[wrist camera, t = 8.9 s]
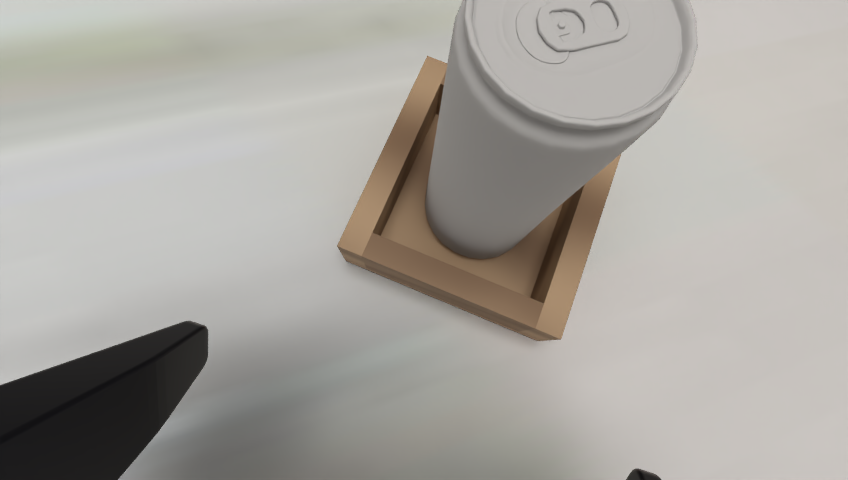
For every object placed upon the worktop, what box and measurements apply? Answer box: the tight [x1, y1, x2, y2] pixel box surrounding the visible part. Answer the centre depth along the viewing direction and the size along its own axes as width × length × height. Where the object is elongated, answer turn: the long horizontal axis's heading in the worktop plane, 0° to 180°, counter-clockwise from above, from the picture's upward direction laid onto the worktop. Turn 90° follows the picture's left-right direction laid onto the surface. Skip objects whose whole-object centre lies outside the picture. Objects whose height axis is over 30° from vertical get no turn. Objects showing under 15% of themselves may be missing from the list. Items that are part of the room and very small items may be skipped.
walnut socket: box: [337, 56, 621, 341], centre depth 19 cm, size 9×9×3 cm
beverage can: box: [425, 0, 698, 259], centre depth 14 cm, size 5×5×12 cm
